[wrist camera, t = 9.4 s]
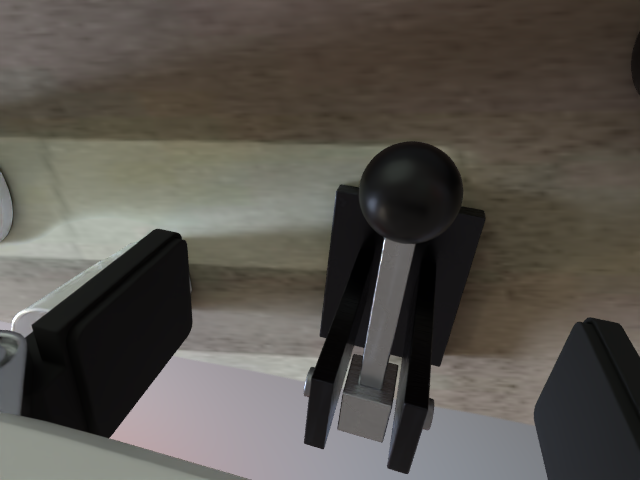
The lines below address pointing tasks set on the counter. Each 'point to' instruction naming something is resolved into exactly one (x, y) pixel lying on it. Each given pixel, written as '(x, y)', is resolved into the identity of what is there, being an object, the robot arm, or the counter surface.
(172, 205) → the counter surface
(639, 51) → the supplement bottle
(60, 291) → the white cup
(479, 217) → the black lever stand
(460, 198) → the tap lever
